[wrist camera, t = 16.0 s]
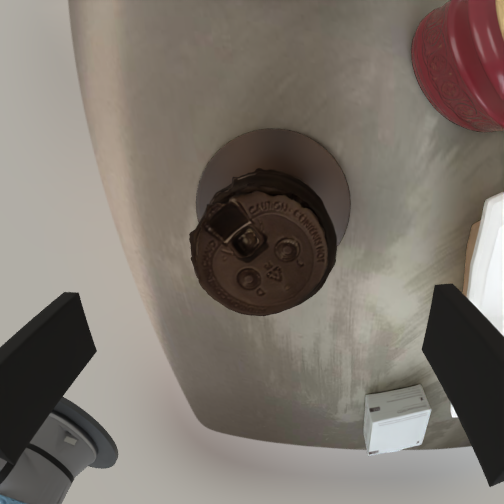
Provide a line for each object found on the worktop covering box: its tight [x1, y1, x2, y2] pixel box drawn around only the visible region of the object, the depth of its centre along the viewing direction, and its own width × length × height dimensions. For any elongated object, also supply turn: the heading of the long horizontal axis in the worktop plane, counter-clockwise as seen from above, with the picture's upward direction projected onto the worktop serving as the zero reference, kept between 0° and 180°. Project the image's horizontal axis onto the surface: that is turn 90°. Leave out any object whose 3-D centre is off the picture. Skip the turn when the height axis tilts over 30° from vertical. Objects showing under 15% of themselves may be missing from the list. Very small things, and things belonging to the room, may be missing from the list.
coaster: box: [196, 129, 350, 246], centre depth 29 cm, size 14×14×1 cm
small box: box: [363, 384, 431, 456], centre depth 34 cm, size 8×8×5 cm
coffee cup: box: [189, 168, 337, 316], centre depth 23 cm, size 9×8×13 cm
